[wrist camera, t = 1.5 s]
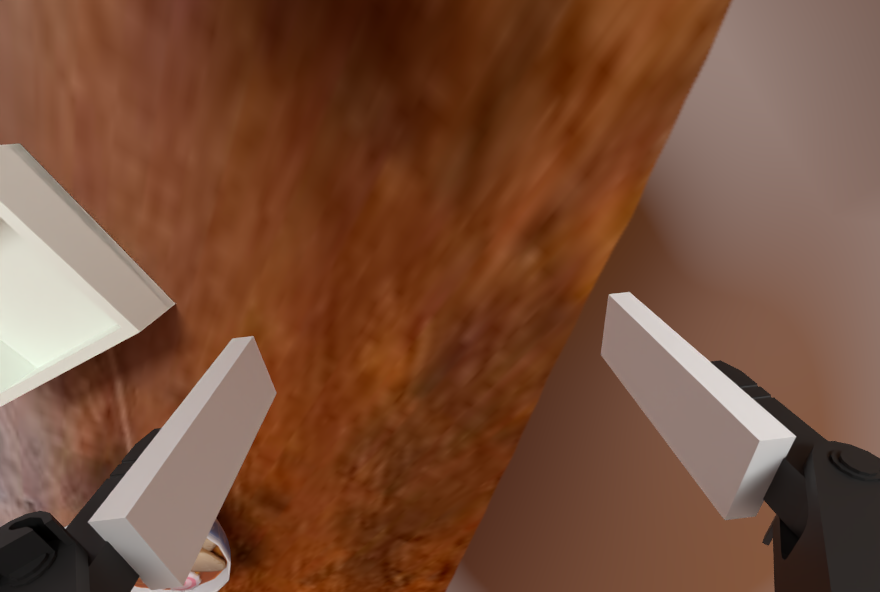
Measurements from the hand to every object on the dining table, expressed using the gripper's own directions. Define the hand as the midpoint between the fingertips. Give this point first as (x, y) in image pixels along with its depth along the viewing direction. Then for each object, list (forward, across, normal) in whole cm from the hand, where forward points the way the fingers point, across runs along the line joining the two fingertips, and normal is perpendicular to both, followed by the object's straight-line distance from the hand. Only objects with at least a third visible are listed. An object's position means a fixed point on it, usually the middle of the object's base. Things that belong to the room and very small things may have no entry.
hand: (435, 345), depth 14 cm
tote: (+27, -42, -4) cm, 50 cm away
